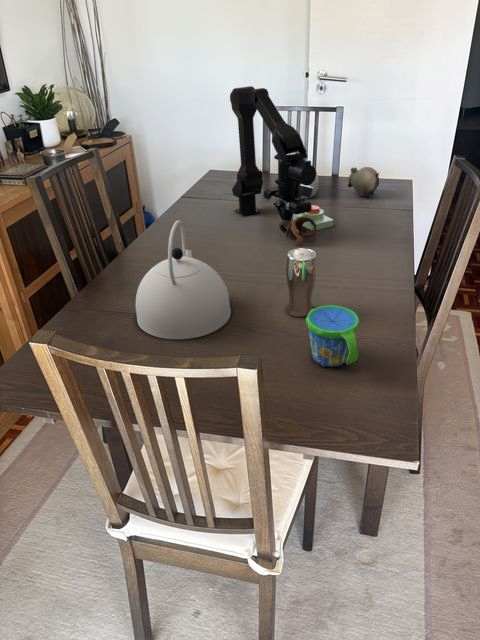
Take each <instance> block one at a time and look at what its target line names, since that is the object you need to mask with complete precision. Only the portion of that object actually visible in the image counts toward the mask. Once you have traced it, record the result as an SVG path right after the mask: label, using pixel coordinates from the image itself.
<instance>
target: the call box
mask: <svg viewBox="0 0 480 640" xmlns="http://www.w3.org/2000/svg"><path fill="white" fill-rule="evenodd" d="M302 216H305V217H309V218H311V219H312V220H314V222H315V223H316V227H317V228H316V229H317V231H320V230H323V229H328V228H331V227H334V219H333V218H330V217H329V216H327V215H325V212H324V209H321V208H319V213H317V214H309V213H307V212H306V213H302V214H293V216H292V221H294V220H295V219H296V218H298V217H302ZM302 226H303V227H305V228H307V229H309V230H310V231H311V232H312V231H313V229H314V227H313V225H312V224H311V223H310V222H309V221H307V222H304V224H303V225H302Z"/></svg>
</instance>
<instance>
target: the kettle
mask: <svg viewBox="0 0 480 640" xmlns="http://www.w3.org/2000/svg"><path fill="white" fill-rule="evenodd" d="M178 226H179V230H180V235H181V248H180V247H174V248H173V243H174V236H175V233H176V230H177V227H178ZM169 233H170V234H169V238H168V245H167V246H168V247H167V259H164V260H161V261H160V262H158V263H156V264H155V265H154V266H153V267H151V268H150V269H149V270H148V271H147V273H146V274H144V276H143V278H142V279H141V281H140V283H139V285H138V288H137V291H136V295H135V314H136V321H137V324H138V326H139V328H140V329H141V330H142V331H144V332H145V333H147V334H149V335H150V336H153V337H156V338H160V339H166V340H189V339H190V340H191V339H195V338H196V339H197V338H199V337H204V336H206V335H210V334H212V333H214V332H216V331H217V330H219V329H220V328H222V327H223V326H224V325H226V323H227V322H228V321H229V319H230V317H231V314H232V312H231V311H232V310H231V304H230V296H229V292H228V291H229V290H228V287H227V286H226V284H225V282H224V280H223V278H222V277H221V276H220V274H219V273H218V272H217V271H216V270H215V269H214V268H212V267H211V266H210V265H208V264H207V263H205V262H203V261H201V260H199V259H197V258H194V257H193V252H192V251H193V249H186V248H187V247H186V246H187V245H186V234H185V227H184V224H183V222H182V221H181V220H180V219H178V220H175V222H174V223H173V225H172V227H171V229H170V232H169Z"/></svg>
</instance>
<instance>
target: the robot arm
mask: <svg viewBox="0 0 480 640" xmlns="http://www.w3.org/2000/svg"><path fill="white" fill-rule="evenodd" d="M229 102H230V105H231V106H230V107H231V110H232V113H234V115H235V117H236V118H237V128H238V141H239V142H238V143H239V153H240V167H239V169H238V171H237V173H236V182H235V184H234V185H233V187H232V188H231V191H232V194H233V196H234V197H236V198H238V208H235V212H237V213H238V214H240V215H242V216H243V217H246V216H251V215H255V214H259V213H261V212H260V210H258V209H257V205H256V204H257V201H256V195H261V193H262V189H263V186H264V185H263V184H264V178H263V171H262V170H260V169H259V167H258V166H257V160H256V144H255V143H256V142H255V123H254V117H255V115H256V113H257V112H258V114H259V115H260V117H261V118H262V120H263V122H264V123H265V125H266V127H267V128H268V130H269V131H270V134H271V143H272V145H273V148H274V150H275V152H276V154H275V155H274V156H273V158H274V159H275V160H276V161H277V179H276V178H275V179H274V183H275V184H276V186H271V187H266V188H265V189H264V190H263V198H264V199H266V200H269V201H270V200H271V198H272V197H274V199H275V202H273V203H272V204H273V207H275V209H276V211H277V213H278V215H279V217H280V219H281V221H282V220H288V221H291V222H292V220H293V214H302V213H306V212H310V211H312V205H313V203H311V202H310V201H308V200H306V199H301V196H306V197H308V199H310V198H312V197H311V194H312V191H313V188H312V187H310V186H308V185H311V184H312V183H313V182H314V180H315V178H316V172H317V170H316V167H314V166H313V165H312V161H311V160H310V159H308V157H309V156H308V153H307V152H308V151H307V149H306V147H305V144H304V142H303V139H302V136H301V134H300V133H299V132H298V130H296V128H295V127H293V126H292V125H290V124H288V123H287V122H286V121H285V120H284V118H283V117H282V115H281V113H280V112H279V110H278V109H277V107H276V105H275V103H274V101H273V100H272V99H271V96H270V94H269V91H268V89H267V88H264V87H261V88H260V87H259V88H255V87H254V86H252V85H251V86H249V85H248V86H241V87H235V88H233V89H232V90H231V92H230V95H229ZM305 158H306V159H307V160H305Z"/></svg>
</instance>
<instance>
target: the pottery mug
mask: <svg viewBox="0 0 480 640" xmlns="http://www.w3.org/2000/svg"><path fill="white" fill-rule="evenodd" d="M307 221H309V222H310V223H311V224H312V225H313V227H314V229H313V231H312V230H311V231H309V230H308V229H309V228H307V227H305V226H303V224H304V222H307ZM278 227H279V229H280V231H281V232H282V233H283V234H285V237H287V238H288V237H291V236H293V235H294V236H295V237H296V240H295V245H297V246H301V245H302V244H305V243H308V242H310V241H312V240H313V239H314V238H315V237H316V236H317V234H318V230H317V229H316V228H317V227H316V223H315V222H314V220H312V219H311V218H309V217H305V216H302V217H298V218H296V219H295V220H291V221H288V220H282V219H281V220H280V221H279V223H278ZM308 231H309V232H308Z"/></svg>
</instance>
